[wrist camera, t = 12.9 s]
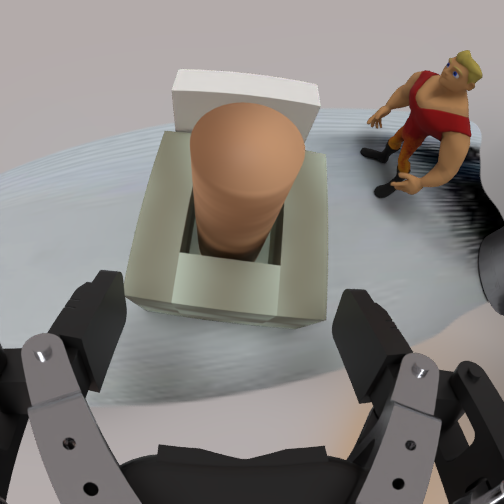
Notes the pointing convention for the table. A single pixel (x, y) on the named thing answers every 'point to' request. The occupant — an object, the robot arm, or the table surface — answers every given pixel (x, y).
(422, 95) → the action figure
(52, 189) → the table surface
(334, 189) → the table surface
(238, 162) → the dowel
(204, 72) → the backstop wall
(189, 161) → the socket block
